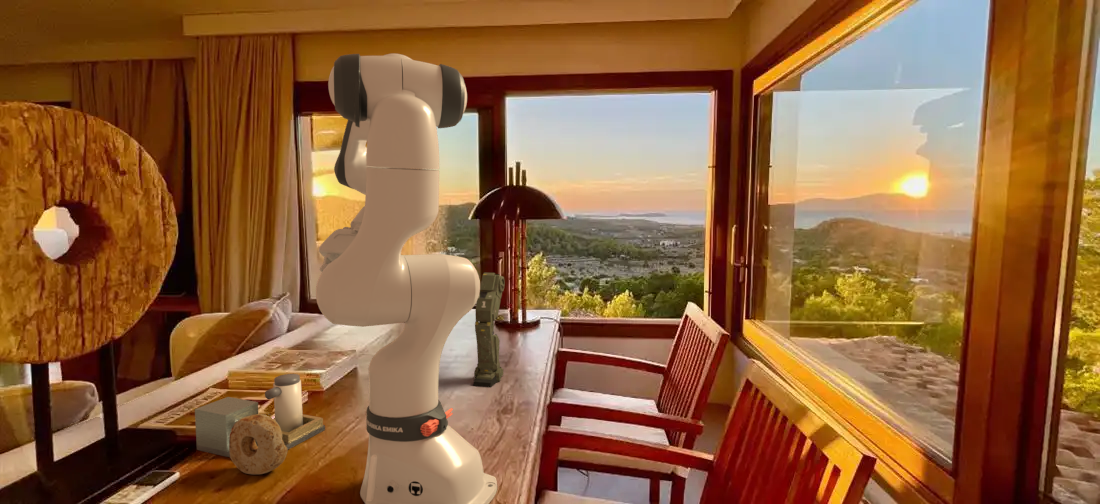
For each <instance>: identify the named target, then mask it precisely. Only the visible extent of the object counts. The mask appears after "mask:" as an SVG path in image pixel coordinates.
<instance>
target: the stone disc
mask: <svg viewBox="0 0 1100 504" xmlns="http://www.w3.org/2000/svg"><path fill="white" fill-rule="evenodd" d="M231 430H232V431H231V433H230V441H229V448H230V457H229V458H230V459H231V462H232V463H233V465H235V467H236V468H237V469H238V470H239V471H240V472H242V473H244V474H248V475H263V474H268V473H270V472H271V471H273V470H275V469H277V468H278V467H280V466H281V465H282V464H283V463H284V461H285V460H286V457H287V454H288V450H287V447H286V446H285V445H284V441H283V440H282V431H281V428H280V426H279V425H278V423H277V422H276V421H275V420H274V419H272V418H271V417H269V416H267V415H266V414H261V413H260V414H259V413H258V414H256V415H251V416H247V417H244V418H242V419H240V420H239V421H238V422H236V423H235V424H234V426H233V428H232V429H231ZM255 440H256V442H257V444H258V446H257V445H256V442H255Z"/></svg>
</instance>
